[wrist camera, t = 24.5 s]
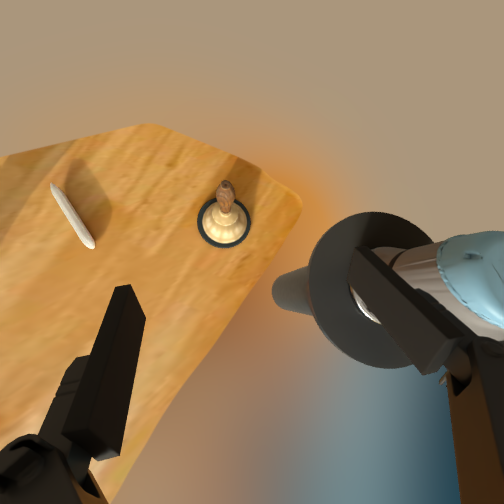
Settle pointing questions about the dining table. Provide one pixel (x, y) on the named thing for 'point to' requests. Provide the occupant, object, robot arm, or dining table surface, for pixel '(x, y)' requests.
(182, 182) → the dining table surface
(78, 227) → the pen
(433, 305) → the robot arm
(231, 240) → the hand bell
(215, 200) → the corner coaster
